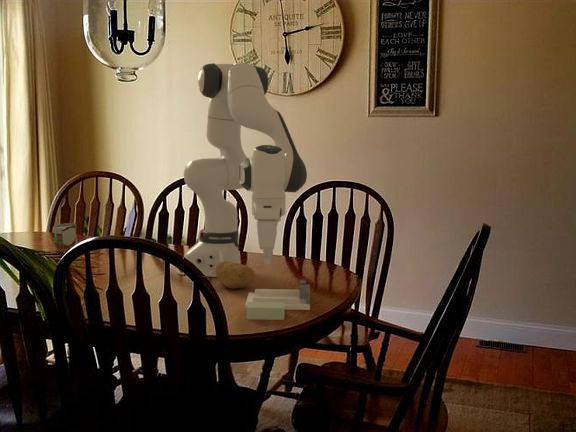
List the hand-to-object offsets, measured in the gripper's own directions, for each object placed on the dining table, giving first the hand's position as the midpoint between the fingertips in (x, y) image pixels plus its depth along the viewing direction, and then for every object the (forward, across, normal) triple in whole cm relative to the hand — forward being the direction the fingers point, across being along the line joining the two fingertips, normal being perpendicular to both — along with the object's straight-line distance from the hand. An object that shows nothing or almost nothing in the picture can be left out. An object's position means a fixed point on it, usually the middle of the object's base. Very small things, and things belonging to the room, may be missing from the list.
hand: (268, 259), depth 162 cm
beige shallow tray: (+16, -12, +2) cm, 20 cm away
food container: (+15, -76, -85) cm, 115 cm away
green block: (+16, 0, -1) cm, 16 cm away
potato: (+16, -27, -12) cm, 33 cm away
